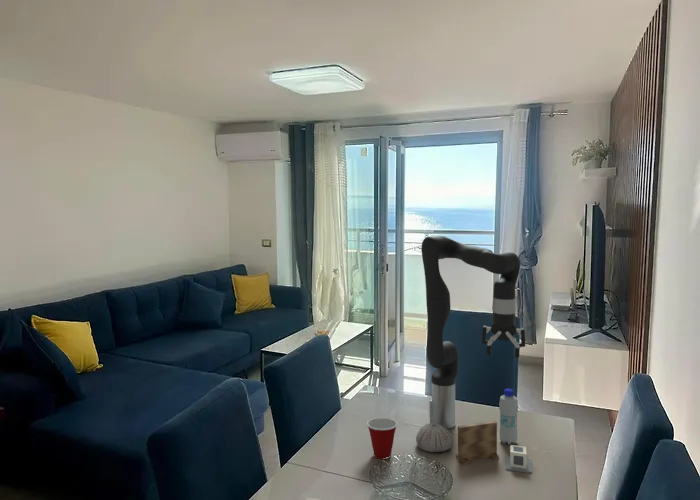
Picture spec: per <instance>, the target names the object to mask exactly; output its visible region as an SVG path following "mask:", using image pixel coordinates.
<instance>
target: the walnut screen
mask: <svg viewBox="0 0 700 500" xmlns="http://www.w3.org/2000/svg"><path fill="white" fill-rule="evenodd" d="M455 455H456V456H455V457H456V458H457V460H458V462H459V463H461V464H462V465H467V464H471V463H470V462H471V461H472V460H478V459H479V460H480V459H486V458H490V459H491V460H498V459H499V457H500V456H499V454H498V422H497V421H496V420H489V421H483V422H476V423H475V422H474V423H469V424H463V425H457V453H456V454H455Z"/></svg>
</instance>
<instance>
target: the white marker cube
mask: <svg viewBox="0 0 700 500" xmlns="http://www.w3.org/2000/svg"><path fill="white" fill-rule="evenodd" d="M509 448H510V449H509V452H510V453H509V457H510V467H517V468H524V469H526V466H527V459H528V458H527V456H528V455H527V447H526V446H521V445H515V444H510V445H509Z"/></svg>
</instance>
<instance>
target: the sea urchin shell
mask: <svg viewBox="0 0 700 500" xmlns="http://www.w3.org/2000/svg"><path fill="white" fill-rule="evenodd" d="M420 427H421V426H420ZM415 439H416V440H415V441H416V445H417V446H418V447H419V448H420V449H421V450H423V451H425V452H430V453H440V452H445V451H447V450H449V449H450V448H451V447H452V446H453V444H454V437H453V435H452V434H451V433H450V431H448V429H445V428H444V427H442V426H441V425H439V424H430V423H427V424H424V425H422V427H421V428H419V431H418V432H417V433H416V436H415Z"/></svg>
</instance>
